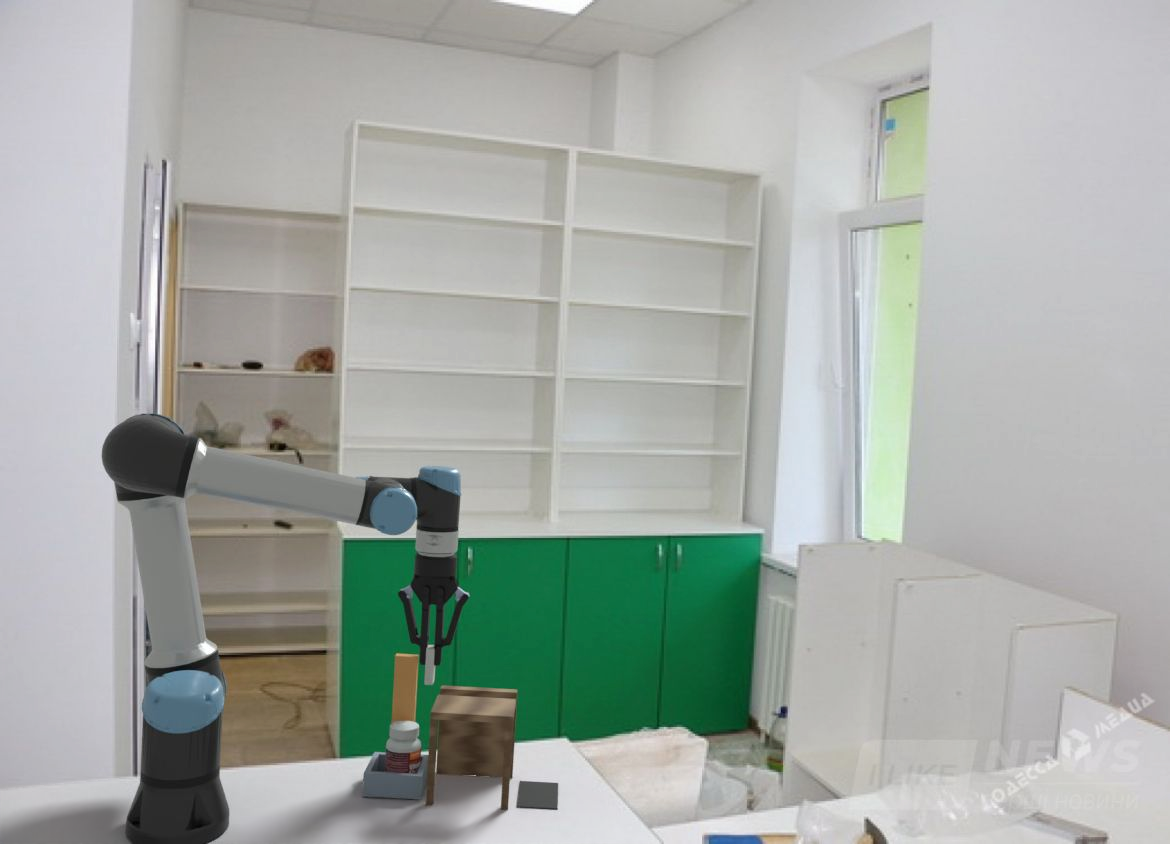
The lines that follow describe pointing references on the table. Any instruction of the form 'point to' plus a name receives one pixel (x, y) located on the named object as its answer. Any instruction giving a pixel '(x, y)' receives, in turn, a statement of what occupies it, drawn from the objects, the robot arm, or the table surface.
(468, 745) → the wooden stand
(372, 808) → the table surface
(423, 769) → the tray with upright plank
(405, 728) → the pill bottle
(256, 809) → the table surface
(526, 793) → the mat
